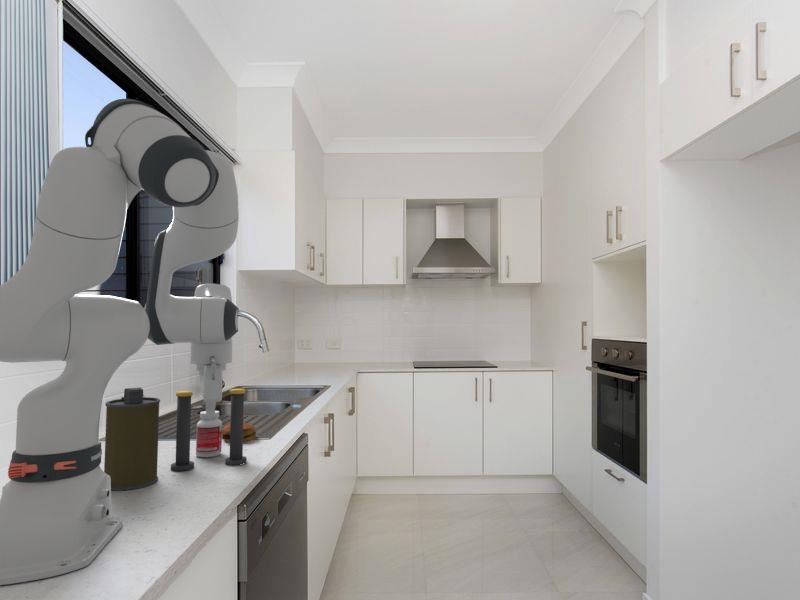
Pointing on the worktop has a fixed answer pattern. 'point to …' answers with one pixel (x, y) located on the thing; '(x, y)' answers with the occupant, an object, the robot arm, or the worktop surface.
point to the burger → (248, 432)
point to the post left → (183, 432)
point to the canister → (132, 440)
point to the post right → (236, 428)
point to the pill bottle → (209, 436)
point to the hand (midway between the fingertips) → (210, 416)
